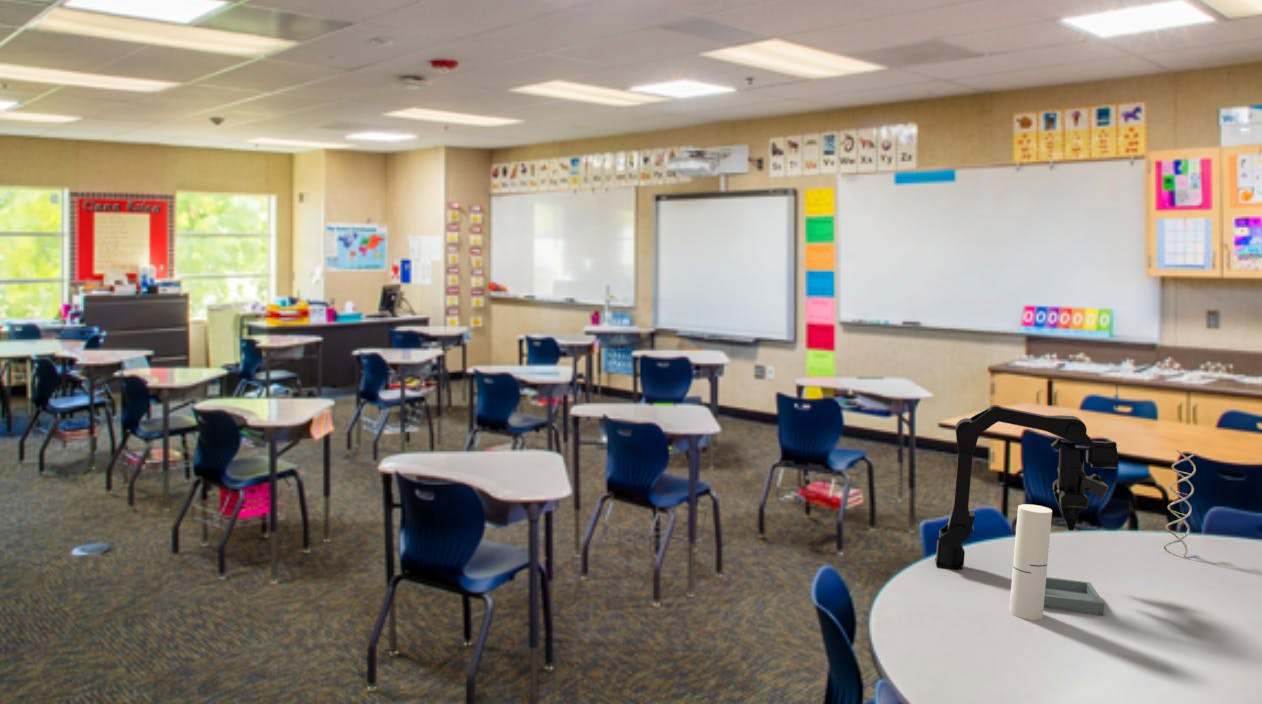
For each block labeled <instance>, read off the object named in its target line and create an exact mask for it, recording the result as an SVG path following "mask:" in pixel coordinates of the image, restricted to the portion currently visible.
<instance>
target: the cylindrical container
mask: <svg viewBox="0 0 1262 704" xmlns="http://www.w3.org/2000/svg"><path fill="white" fill-rule="evenodd" d="M1052 515H1053V510H1052V509H1051V508H1049V507H1046V506H1043V505H1037V504H1032V503H1031V504H1025V503H1024V504H1022V503H1021V504H1019V505H1018V506H1017V516H1016V525H1015V526H1016V527H1015V528H1016V529H1015V539H1014V551H1013V560H1012V562H1013V563H1012V575H1011V587H1010V598H1009V608H1008V609H1009V610H1008V612H1009V613H1010V614H1011V615H1012V616H1015V617H1017V618H1020V619H1024V620H1029V621H1030V620H1031V621H1036V620H1037V621H1038V620H1041V619H1043V618H1044V609H1045V608H1044V597H1045V586H1046V577H1047V576H1048V575H1047V574H1048V560H1049V551H1050V550H1049V548H1050V541H1051V540H1050V539H1051V530H1052V528H1051V526H1052V517H1053V516H1052Z"/></svg>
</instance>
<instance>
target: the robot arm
mask: <svg viewBox="0 0 1262 704" xmlns="http://www.w3.org/2000/svg"><path fill="white" fill-rule="evenodd" d="M998 422H999V423H1004V424H1007V425H1008V424H1010V425H1015V426H1020V427H1023V428H1029V429H1033V430H1039V431H1044V432H1047V433H1049V434H1052V435H1054V436H1056V437H1058V438H1056V440H1055V441H1053V442H1051V444H1050V445H1051V447H1052V448H1053V449H1059V451H1058V452H1059V453H1058V456H1059V457H1058V466H1057V470H1056V471H1057V474H1058V475H1057V476H1058V478H1057V479H1055V480H1054V481H1053V482H1052V490H1053V495H1054V497H1055V500H1056V504H1057V505H1058V508H1059V511H1060V514H1061V517H1062V519H1063V521H1064V522H1065V523H1066V527H1067V529H1068V531H1069V532H1071V531H1072V532H1073V531H1074V530H1075V528H1076V524H1077V521H1078V518H1079V514H1080V513H1081V512H1082V511H1084V510H1086V509H1088V508H1089V504H1090V503H1089V500H1090V499H1089V498H1088V496H1087V495H1086V494H1085V493H1086V492H1088V493H1091V494H1094V495H1096V496H1098V497H1099V498H1101V499H1104V497H1105V495H1106V493H1107V492H1108V489H1109V485H1108V484H1107V483H1105V482H1104V481H1102V477H1101V476H1100V475H1098V474H1096V473H1093V474H1092V475H1090V476H1089V475H1087V473H1086V472H1085V470H1084V468H1085V462H1086V464H1090V467H1091V468H1100V469H1111V470H1112V469H1114V470H1115V469H1118V465H1119V456H1118V447H1117V446H1118V444H1117V442H1116V441H1113V440H1112V441H1111V440H1109V441H1097V440H1093V439H1092V437H1091V436H1089V435H1088V434H1087V433H1088V432H1087V425H1086V424H1085V423H1084V421H1082V419H1081V418H1079V417H1077V416H1075V415H1045V414H1041V413H1035V412H1031V411H1026V410H1020V409H1014V408H1009V407H1005V406H1004V407H1003V406H1001V405H999V404H993V405H990V406H989V407H988V408H986V409H985V410H982V411H981V412H979V413H976V414H974V416H972V417H970V418H967V417H966V418H961V419H960V420H958V421H957V422H956V424H955V437H956V446H957V447H956V448H957V463H956V471H955V472H956V475H955V486H954V487H955V488H954V499H953V504H952V507H951V511H950V514H949V518H948V522H947V523H946V524H945V525H944V526H942V527H941V528H940V529H939V531H938V533H939V534H938V539H937V540H936V541H937V542H936V553H935V554H936V556H935V558H934V560H935V561H934V562H935V566H936V567H937V568H938V567H939V568H944V569H953V570H960V571H961V570H963V566H965V565H964V563H965V552H966V551H965V548H964V545H963V542H964V541H967V540H968V539H970V537H971V534H972V533H974V532H975V530H974V522H975V517H976V516H975V511H974V510H970V508H969V502H970V490H971V478H972V477H971V476H972V466H973V456H974V453H975V450H976V447H977V443H978V439H979V435H980V434H982V433H984V432H985V431H987V430H988V429H990V428H991V427H992V426H993V425H995V424H997V423H998ZM1061 438H1062V439H1064V440H1066V441H1064V440H1062V439H1061ZM1075 442H1078V443H1079V444H1081V445H1079V444H1078V445H1077V444H1076V443H1075Z"/></svg>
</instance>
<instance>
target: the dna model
mask: <svg viewBox="0 0 1262 704" xmlns="http://www.w3.org/2000/svg"><path fill="white" fill-rule="evenodd" d="M1176 452H1177V453H1179V454H1180V455H1181V456H1182V457H1183V459H1180V460H1178V461H1176V462H1173V463H1172V464H1171V469H1172V471H1174V472H1175V473H1176V474H1177V476H1180V477H1181V479H1179V480H1177V481H1175V482H1172V483H1171V484H1170V485H1169V490H1170V491H1171V492H1173V493H1174V494H1175V496H1177V497H1179V498H1180V499H1178V500H1174V501H1173V502H1171V503H1169V504H1168V505H1167V509H1168V511H1169V512H1171V513H1172V514H1173V515H1174V516H1176V517H1177V518H1178V519H1176V520H1172V522H1168V523H1167V524H1166V525H1165V529H1166V530H1167V531H1168V532H1169V533H1170V534H1171V535H1172V536H1174V537H1175V538H1176V540H1172V541H1170V542H1168V543H1164V545H1163V549H1164V550H1165V551H1166V550H1167V551H1168V548H1167V547H1168V546H1170V545H1172V544H1176V543H1180V542H1181V543H1182V545H1183V547H1184V550H1185V551H1184V554H1183V555H1182V556H1183V557H1186V555H1188V546H1187V543H1186V542H1184V541H1183V540H1184V539H1185V538H1187V537H1188V535H1189V534H1190V532H1191V531H1190V526H1189V524H1188V522H1187V521H1185V520H1186V518H1188V517H1190V515H1191V514H1192V512H1193V511H1192V510H1193V509H1192V507H1193V506H1192V505H1191V503H1189V502H1188V500H1187V499H1189V497H1192V495H1193V494H1194V492H1195V488H1194V485H1193V484H1192V483H1191V481H1190V480H1189V479H1190V478H1191V477H1193V476H1194V475H1195V474H1196V471H1197V469H1196V468H1197V467H1196V464H1194V462H1193V461H1192V460H1191V458H1193V457H1194V456H1195V454H1194V453H1193V454H1191V455H1189V456H1186V455H1185V454H1184V453H1182V452H1181V451H1179V450H1178V449H1177V450H1176ZM1185 461H1186V462H1187V461H1188V462H1189V463H1190V464H1191V466H1192V467H1193V471H1192V472H1191V473H1189V472H1185V471H1181V470H1178V469H1176V468H1175V466H1176V465H1178V464H1180V463H1182V462H1185ZM1182 474H1186V476H1184V475H1182ZM1182 482H1186V483H1188V484H1189V485H1190V487H1191V492H1190V493H1189V494H1188V493H1185V492H1182V495H1185V496H1184V497H1183V496H1182V495H1180V494H1181V492H1180V491H1177V490H1175V489H1173V486H1174V485H1176V484H1178V483H1179V484H1180V483H1182ZM1180 502H1184V503H1186V504H1187V505H1188V507H1189V511H1188V513H1187V514H1186V513H1185V514H1184V513H1180V512H1178V511H1176V510H1173V509H1171V506H1173V505H1176V504H1178V503H1180ZM1178 514H1179V515H1178ZM1180 515H1183V517H1182V516H1180ZM1179 522H1182V523H1184V525H1185V526H1186V528H1187V529H1186V533H1185V535H1183V534H1181V533H1177V532H1175V531H1173V530H1170V528H1169V526H1171V525H1174V524H1176V523H1179ZM1178 535H1179V536H1181V537H1179V536H1178Z"/></svg>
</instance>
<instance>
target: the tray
mask: <svg viewBox="0 0 1262 704" xmlns="http://www.w3.org/2000/svg"><path fill="white" fill-rule="evenodd" d="M1044 609H1049V610H1054V611H1064V612H1070V613H1076V614H1077V613H1080V614H1086V615H1087V614H1088V615H1093V616H1100V617H1101V616H1102V617H1104V615H1105V614H1104V613H1105V602H1104V601H1103V599H1102V598H1101V596H1100V595H1099V593H1098V592H1097V590H1096V589H1095V588H1094V586H1093V584H1092V583H1091V582H1089V581H1082V580H1075V579H1066V578H1059V577H1058V578H1057V577H1052V576H1051V577H1050V576H1046V586H1045V597H1044Z"/></svg>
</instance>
